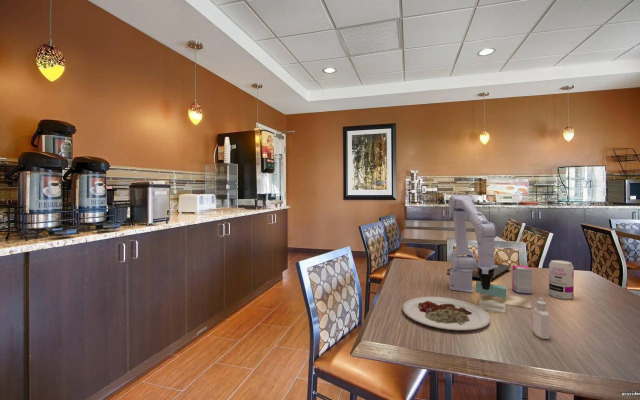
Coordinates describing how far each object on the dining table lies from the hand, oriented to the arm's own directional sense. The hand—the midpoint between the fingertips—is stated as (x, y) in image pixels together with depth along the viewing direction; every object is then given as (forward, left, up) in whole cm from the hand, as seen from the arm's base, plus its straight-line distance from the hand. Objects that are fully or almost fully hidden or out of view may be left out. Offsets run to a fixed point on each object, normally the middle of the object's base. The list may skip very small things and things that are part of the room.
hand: (486, 287), depth 118 cm
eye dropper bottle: (+16, -18, -8) cm, 26 cm away
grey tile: (+2, 0, -8) cm, 8 cm away
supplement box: (+13, +27, -8) cm, 31 cm away
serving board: (-6, +55, -8) cm, 56 cm away
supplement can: (+27, +28, -8) cm, 39 cm away
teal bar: (+1, 0, -2) cm, 3 cm away
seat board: (+6, +12, -8) cm, 15 cm away
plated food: (-13, -16, -8) cm, 22 cm away
